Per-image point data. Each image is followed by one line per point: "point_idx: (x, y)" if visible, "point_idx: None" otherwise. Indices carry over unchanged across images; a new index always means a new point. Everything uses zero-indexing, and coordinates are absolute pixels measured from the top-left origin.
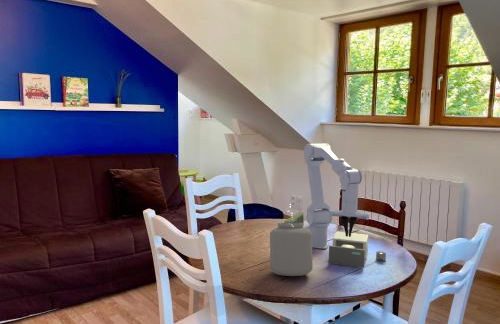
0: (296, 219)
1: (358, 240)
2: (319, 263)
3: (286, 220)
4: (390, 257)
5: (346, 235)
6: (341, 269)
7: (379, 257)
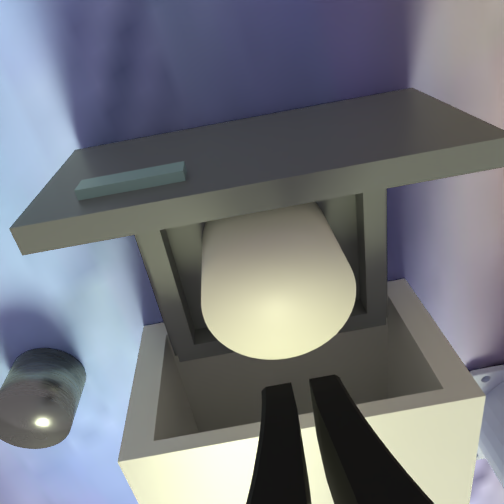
0: None
1: (208, 458)
2: (494, 52)
3: None
4: None
5: (329, 385)
6: (257, 3)
7: (33, 373)
